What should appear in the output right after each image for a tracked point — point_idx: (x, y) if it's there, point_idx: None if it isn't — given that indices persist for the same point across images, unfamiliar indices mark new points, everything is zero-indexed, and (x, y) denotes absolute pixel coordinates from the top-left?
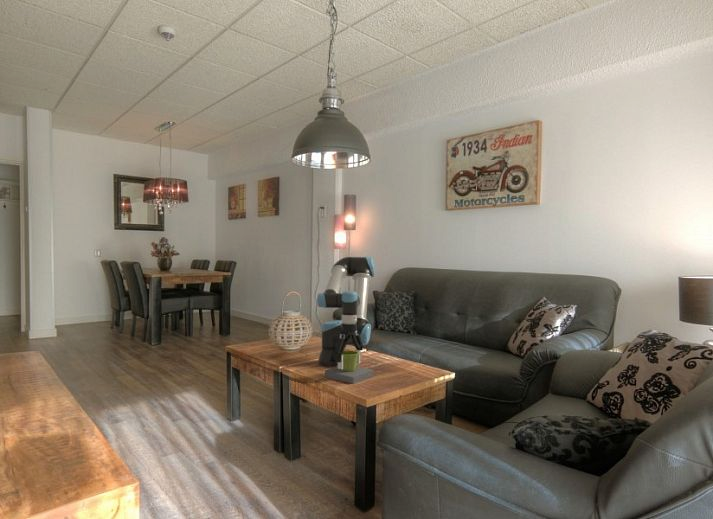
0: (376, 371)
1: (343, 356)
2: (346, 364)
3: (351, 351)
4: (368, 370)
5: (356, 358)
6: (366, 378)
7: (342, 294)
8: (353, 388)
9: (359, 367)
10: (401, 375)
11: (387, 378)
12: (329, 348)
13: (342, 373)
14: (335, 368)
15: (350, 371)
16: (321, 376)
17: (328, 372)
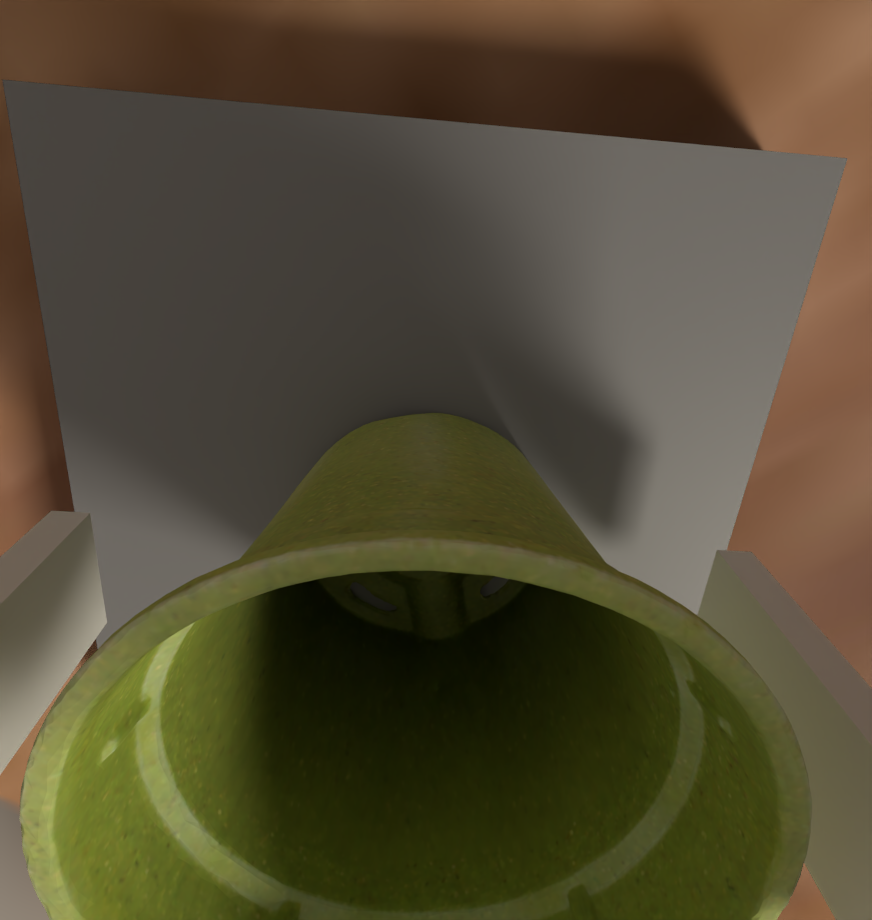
0: (867, 655)
1: (100, 780)
2: (248, 651)
3: (763, 771)
4: None
5: (471, 873)
6: None
7: None
8: (19, 781)
9: (694, 576)
10: (796, 914)
11: None
12: None
13: (152, 549)
14: (348, 202)
15: (358, 590)
16: (48, 8)
17: (37, 223)
